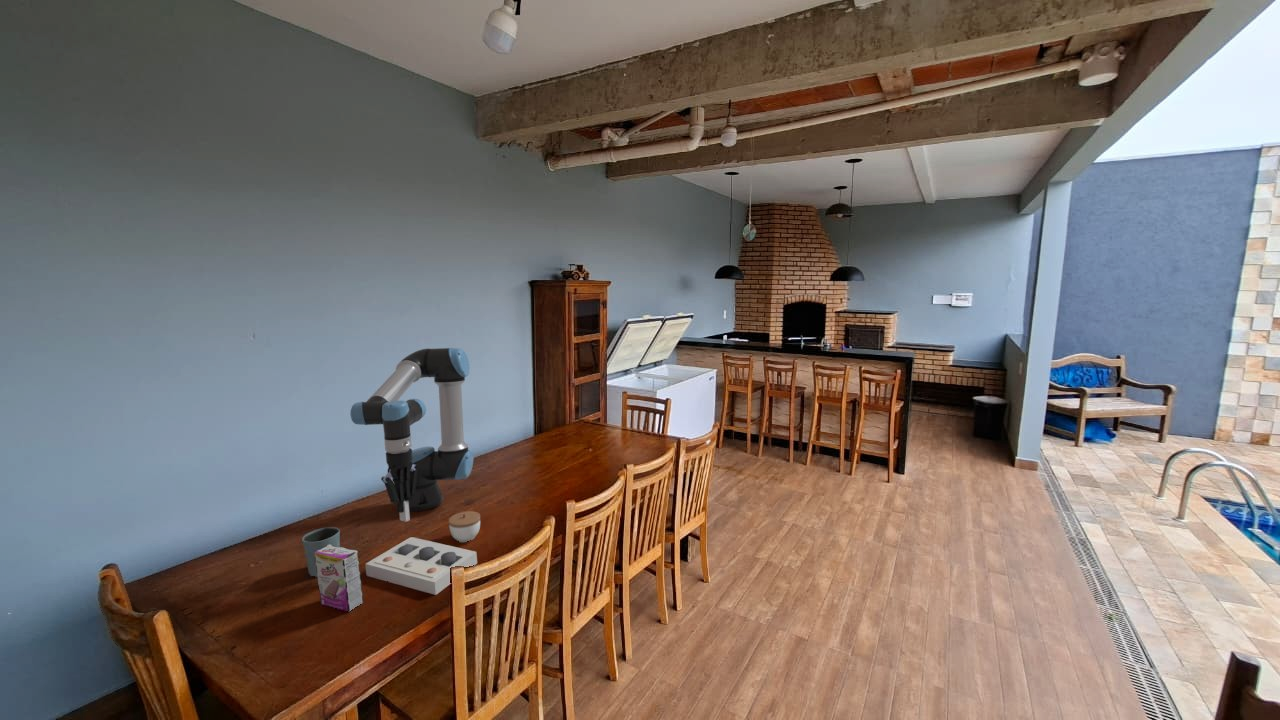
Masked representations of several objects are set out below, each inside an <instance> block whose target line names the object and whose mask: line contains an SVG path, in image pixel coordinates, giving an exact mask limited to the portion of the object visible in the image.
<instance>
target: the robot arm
mask: <svg viewBox="0 0 1280 720" xmlns="http://www.w3.org/2000/svg"><path fill="white" fill-rule="evenodd" d="M469 374H470V361H469V358H468V354H467V353H466V351H464V349H462V348H458V347H457V348H456V347H455V348H454V347H445V348H441V347H440V348H423V349H419V350H416V351H414V352H412V353H410V354H408V355H407V356H405V357H404V358H403V359H402V360H401V361H399V362H398V364H396V368H395V371H394V372H393V373H392V374H391V375H390V376H389V377H388V378H387V379H386V380H385V381H384V382H383V384H381V386H380V387H379V388H377V390H376V391H375V392H374V393H373V394H372V395H371V396H370V397H369V398H368V399H367V400H366V401H360V402H355V403H353V405H352V406H351V409H350V418H351V422H352V423H353V424H355V425H362V426H363V425H365V426H367V425H368V426H369V425H370V426H371V425H374V426H375V425H382V427H383V434H384V435H383V437H384V450H385V459H386V464H387V466H388V468H387V473H386V475H385V476H381V478H380V479H381V481H382V482H383V484H384V486H385V489H386V491H387V495H388V498H389V500H390V503H394V504H396V508H397V512H398V513H399V514H398V515H399V521H401V522H408V521H410V520H411V519H410V517H411V515H410V512H420V511H421V512H422V511H426V510H431V509H433V508H436V507H439V506H440V505H441V504H442V503H443V500H444V499H443V496H444V495H443V493H442V492H441V489H440V487H439V483H438V481H441V480H442V481H443V480H444V481H446V480H447V481H449V480H450V481H451V480H454V481H457V480H465V479H467V478H468V477H469V476H470V475H471V473H472V469H473V465H474V452H473V450H471V449H469V445H468V443H466V442H465V439H464V438H465V437H464V434H465V433H464V418H463V417H464V415H463V398H462V385H463V383H464V382H465V379H466V378H467V377H468V376H469ZM424 378H433V379H434V380H433V381H434V383H435V385H437V386H438V398H439V416H440V417H439V418H440V437H441V438H440V439H441V444H440V445H439V446H438V448H437V450H436V449H435V447H434V446H422V447H418V448H415V449H412V435H411V426H412V425H413V424H415V423H417V422H419V421H420V420H421V419H423V417H424V416H425V415H426V412H427V407H426V405H425V403H424V401H422V400H421V399H418V398H411V399H407V400H399V399H400V398H401V397H402V396H403V395H404V394H405V393H406V391H407V390H408V389H409V388H410V387H411V386H412V384H413V383H416V382H417V381H419V380H420V379H424Z"/></svg>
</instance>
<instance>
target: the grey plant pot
mask: <svg viewBox="0 0 1280 720" xmlns="http://www.w3.org/2000/svg"><path fill="white" fill-rule="evenodd" d="M340 534H341V531H340V529H339V528H338V527H334V526H333V527H332V526H331V527H330V526H329V527H321V528H318V529H314V530H312V531H309V532H308V533H306V534H304V536H302V538H301V541H302V546H303V549H304V555H305V560H306V565H307V569H308V570H307V571H308V574H309V575H310V576H311V577H312V576H315V577H314V578H318V577H317V570H316V562H315V554H314V553H315V552H316V551H318V550H320V549H322V548H323V547H325V546H327V545H334V546H338V547H341V546H340V545H341V543H340V542H341V541H340V537H341V535H340Z"/></svg>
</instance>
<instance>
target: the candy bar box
mask: <svg viewBox="0 0 1280 720" xmlns="http://www.w3.org/2000/svg"><path fill="white" fill-rule="evenodd" d="M358 551H359V550H356V549H351V548H345V547H343V546H340V547H338V546H334V545H327V546H325V547H323V548H322V549H320V550H318V551H316V552H315V553H314V554H315V562H316V570H317V577H316V578H317V583H318V584H317V585H318V592H319V600H320V605H321V606H325V607H328V608H331V607H333V608H332V609H335V608H337V610H339V609H340V611H342V610H344V611H343V612H346V611H348V612H347V613H351V612H352V611H351V610H352V609H354V608H355V607H357V606H358V607H359V606H361V605H362V604H363V603H364V599H363V598H364V597H363V590H362V589H363V587H362V580H361V579H362V578H361V569H360V562H359V561H360V560H359V552H358ZM360 604H361V605H360ZM358 607H357V608H358ZM355 609H356V608H355ZM355 609H354V610H355ZM350 611H351V612H350Z"/></svg>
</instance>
